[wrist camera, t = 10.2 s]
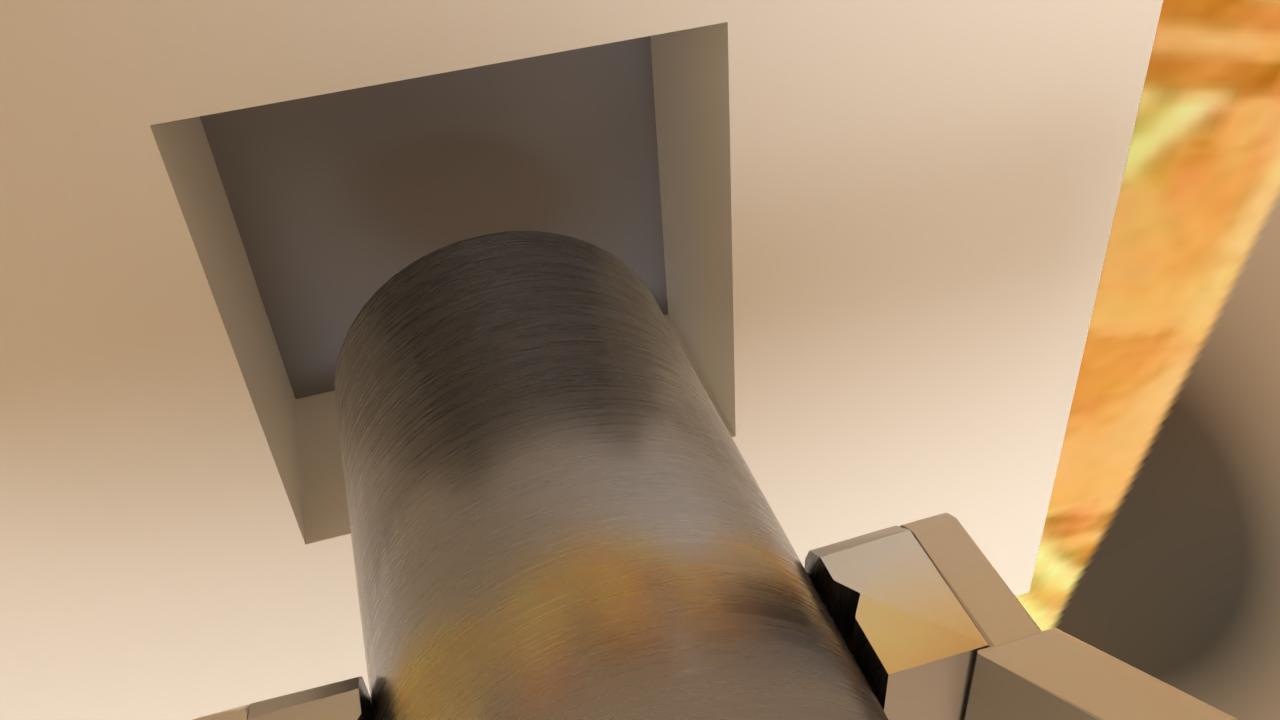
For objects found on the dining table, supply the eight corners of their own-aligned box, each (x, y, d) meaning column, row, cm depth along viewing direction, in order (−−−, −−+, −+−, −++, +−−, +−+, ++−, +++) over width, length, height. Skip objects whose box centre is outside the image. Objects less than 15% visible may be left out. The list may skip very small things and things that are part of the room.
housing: (-769, -549, 10) (-1185, -582, 7) (1088, -664, 14) (1326, -720, 11) (57, 703, 23) (29, 886, 20) (937, 469, 26) (1029, 591, 23)
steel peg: (295, 272, 13) (390, 1391, 5) (658, 199, 14) (1216, 1064, 6) (374, 535, 15) (515, 1529, 8) (673, 461, 16) (1070, 1289, 9)
